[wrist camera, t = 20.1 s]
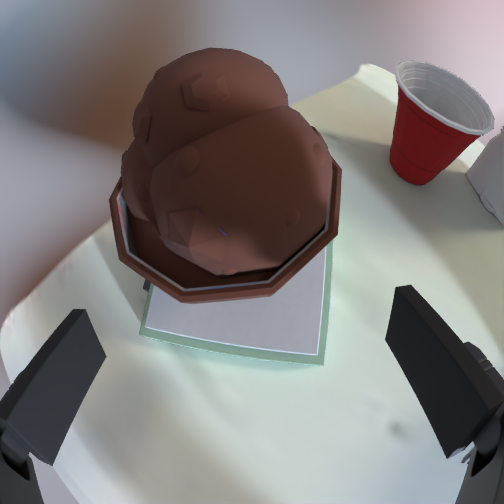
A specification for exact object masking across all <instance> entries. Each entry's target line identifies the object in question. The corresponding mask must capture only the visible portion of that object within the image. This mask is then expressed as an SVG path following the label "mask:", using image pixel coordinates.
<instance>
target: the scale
mask: <svg viewBox="0 0 504 504" xmlns="http://www.w3.org/2000/svg"><path fill="white" fill-rule="evenodd" d="M332 264H333V240H332V241H331V242H330V243H329V244H328V245H326V246H325V247H324V248H323V249H322V250H321V251H320V252H319V253H318V254H317V255H316V256H315V257H314V258H313V259H312V260H311V261H310V262H308V263H307V264H306V265H305V266H304V267H303V268H302V269H301V270H300V271H299V272H298V273H297V274H295V275H294V276H293V277H292V278H291V279H290V280H289V281H288V282H287V283H286V284H285V285H283V286H282V287H281V288H280V289H279V290H278V291H277V292H276V293H275V294H273V295H272V296H270V297H262V298H252V299H243V300H233V301H223V302H212V303H200V304H187V303H180V302H179V301H177V300H176V299H174V298H173V297H171V296H170V295H168V294H167V293H165V292H164V291H162V290H161V289H160V288H158V287H157V286H155V285H154V284H152V283H151V282H149V281H148V280H147V279H145V283H144V287H143V289H144V290H146V291H147V292H149V293H148V297H147V301H146V305H145V310H144V314H143V319H142V323H141V328H140V333H139V335H140V336H143V337H147V338H150V339H154V340H158V341H163V342H167V343H171V344H176V345H180V346H185V347H190V348H194V349H199V350H205V351H210V352H215V353H221V354H227V355H233V356H239V357H245V358H252V359H259V360H267V361H275V362H283V363H293V364H303V365H315V366H324V361H325V352H326V343H327V334H328V323H329V311H330V298H331V283H332Z"/></svg>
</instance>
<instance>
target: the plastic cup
mask: <svg viewBox="0 0 504 504" xmlns="http://www.w3.org/2000/svg"><path fill="white" fill-rule="evenodd" d="M395 75H396V81H397V84H398V97H399V98H398V105H397V112H396V118H395V125H394V131H393V140H392V145H391V149H390V163H391V165H392V167H393V169H394V170H395V172H396V173H397V174H398V175H399V176H400V177H401V178H403V179H404V180H406V181H407V182H410V183H412V184H415V185H424V184H426V183H427V182H429V181H431V180H432V179H433V178H434V177H436V176H437V175H438V174H439V173H440V172H441V171H442V170H444V169H445V168H446V167H447V166H448V165H449V164H451V163H452V162H453V161H454V160H455V159H456V158H457V157H458V156H459V155H460V154H461V153H462V152H463V151H464V150H465V149H466V148H467V147H468V146H469V145H470V144H471V143H473V142H474V141H475V140H476V139H477V138H479V137H480V136H481V135H482V136H483V135H484V134H486V133H488V132H490V131H491V130H492V129H494V116H493V114H492V112H491V110H490V107H489V105H488V104H487V103H486V102H485V100H484V99H483V98H482V97H481V95H480V94H479V93H478V92H477V91H476V90H475V89H473V88H472V87H471V86H470V85H469V84H468V83H466V82H465V81H464V80H463V79H461V78H460V77H458V76H456V75H455V74H453V73H451V72H449V71H447V70H446V69H443V68H441V67H438V66H436V65H433V64H430V63H426V62H421V61H414V60H411V61H405V62H400V63H399V64H398V65H397V67H395Z"/></svg>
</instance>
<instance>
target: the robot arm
mask: <svg viewBox="0 0 504 504" xmlns="http://www.w3.org/2000/svg"><path fill="white" fill-rule="evenodd" d="M385 340H386V342H387V344H388V346H389V347H390V349H391V351H392V352H393V354H394V356H395V358H396V359H397V361H398V363H399V365H400V367H401V368H402V370H403V372H404V374H405V376H406V377H407V379H408V381H409V383H410V385H411V387H412V389H413V390H414V392H415V394H416V396H417V398H418V400H419V402H420V404H421V406H422V408H423V410H424V412H425V414H426V416H427V418H428V420H429V422H430V424H431V426H432V428H433V430H434V432H435V434H436V436H437V438H438V440H439V443H440V445H441V447H442V449H443V451H444V454H445V456H446V458H447V459H448V458H450V457H452V456H454V455H456V454H458V453H460V452H461V451H463V450H465V449H466V447H467V446H468V445H469V444H470V443H471V442H472V441H473V442H474V444H475V447H474V448H473V449H472V450H471V451H470V452H469V453H468V454H467V455H466V456H465V457H464V458H463V460H462V462H461V463H464V462H465V461H466V460H467V459H469V458H470V460H469V462H468V463H467V464H468V467H467V471H466V474H465V477H464V480H463V483H462V486H461V489H460V492H459V495H458V497H457V500H456V503H455V504H504V379H503V378H502V377H501V375H500V374H499V373H498V371H497V370H496V369H495V368H494V367H493V365H492V364H491V363H490V361H489V360H487V358H486V356H485V355H484V354H483V353H482V351H481V350H480V349H479V348H477V347H476V346H474V345H473V344H471V343H470V342H466V343H463V342H462V341H461V340H460V339H459V337H458V336H457V335H456V334H455V333H454V332H453V330H452V329H451V328H450V327H449V326H448V325H447V323H446V322H445V321H444V320H443V319H442V318H441V317H440V316H439V314H438V313H437V312H436V311H435V310H434V309H433V308H432V307H431V306H430V305H429V303H428V302H427V301H426V300H425V299H424V298H423V297H422V296H421V295H420V294H419V293H418V292H417V291H416V290H415V289H414V288H413V287H412V285H406V286H400V287H396V288H395V294H394V299H393V305H392V310H391V315H390V320H389V325H388V329H387V334H386V338H385ZM105 358H106V355H105V352H104V350H103V348H102V346H101V344H100V342H99V340H98V338H97V335H96V333H95V331H94V329H93V326H92V324H91V322H90V319H89V317H88V314H87V312H86V309H73V310H72V311H71V312H70V313H69V315H68V316H67V317H66V318H65V319H64V320H63V322H62V323H61V324H60V325H59V326H58V328H57V329H56V330H55V331H54V332H53V334H52V335H51V336H50V337H49V338H48V340H47V341H46V342H45V343H44V345H43V346H42V347H41V348H40V350H39V351H38V352H37V354H36V355H35V356H34V357H33V359H32V360H31V361H30V363H29V364H28V365H27V367H26V368H25V369H24V370H23V371H22V372H21V373H19V375H18V376H17V378H16V379H15V380H14V384H13V383H12V385H11V386H10V387H9V390H8V391H7V392H6V393H5V395H4V397H3V398H2V399H1V401H0V504H44V502H43V499H42V496H41V492H40V489H39V486H38V482H37V478H36V474H35V470H34V466H33V462H32V459H31V458H30V457H29V455H28V454H29V452H31V453H32V454H33V455H34V456H36V457H37V458H38V459H39V460H41V461H43V462H45V463H47V464H49V465H51V466H53V463H54V461H55V459H56V456H57V454H58V452H59V449H60V447H61V445H62V443H63V440H64V438H65V436H66V434H67V432H68V430H69V428H70V425H71V423H72V421H73V419H74V417H75V415H76V413H77V411H78V409H79V407H80V405H81V403H82V401H83V399H84V397H85V395H86V393H87V391H88V389H89V387H90V386H91V384H92V382H93V380H94V378H95V376H96V374H97V373H98V371H99V369H100V367H101V365H102V363H103V362H104V360H105Z"/></svg>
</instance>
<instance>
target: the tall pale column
mask: <svg viewBox="0 0 504 504" xmlns="http://www.w3.org/2000/svg"><path fill="white" fill-rule="evenodd" d="M466 176H467V178H468V180H469V182H470V183H471V185H472V186H473V187H474V189H475V190H476V191H477V193H478V194H479V195H480V199H481V201H482V203H483V205H484V206H485V207H486V209H487V210H488V211H490V212H491V213H493V214H494V215H495V216H496V217H497V218H498V220H499V221H500V222H501V223H502V224H503V226H504V126H503V129H501V133H500V134H498V135H497V136H495V137H494V138H492V139H491V140H490V141H489V143H488V144H487V146H486V147H485V148H484V150H483V151H482V153H481V154H480V155H479V157H478V158H477V160H476V161H475V162H474V164H473V165H472V166H471V168H470V169H469V170H468V171H467V173H466Z"/></svg>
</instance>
